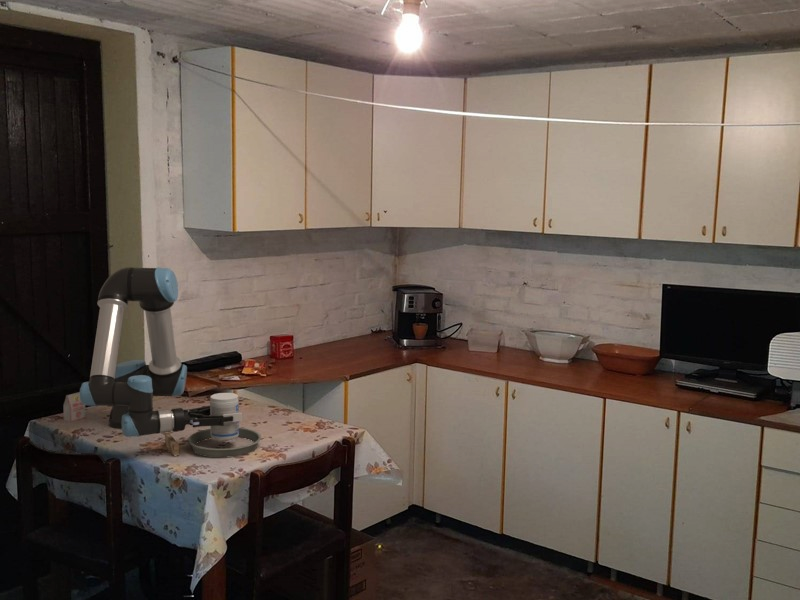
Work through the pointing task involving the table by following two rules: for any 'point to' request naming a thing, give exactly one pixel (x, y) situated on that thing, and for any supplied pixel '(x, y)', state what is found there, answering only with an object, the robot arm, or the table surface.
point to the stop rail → (172, 444)
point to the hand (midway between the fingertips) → (237, 412)
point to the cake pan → (229, 451)
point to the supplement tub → (219, 407)
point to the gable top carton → (73, 408)
